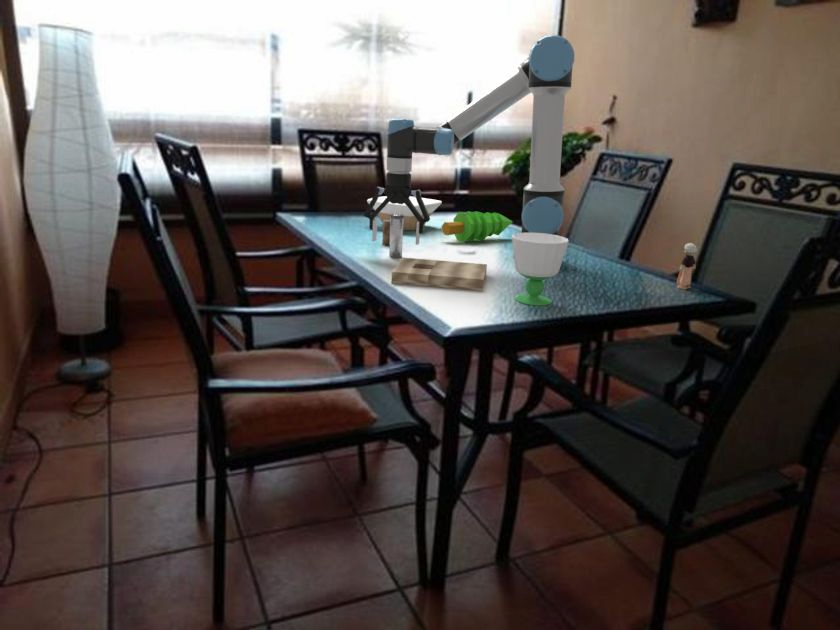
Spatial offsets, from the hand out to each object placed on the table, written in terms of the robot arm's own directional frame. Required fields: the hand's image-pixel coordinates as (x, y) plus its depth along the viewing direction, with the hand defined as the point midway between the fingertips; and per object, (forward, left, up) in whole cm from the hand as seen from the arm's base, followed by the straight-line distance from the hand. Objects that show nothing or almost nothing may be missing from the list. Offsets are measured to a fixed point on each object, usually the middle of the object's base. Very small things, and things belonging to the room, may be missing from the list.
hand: (395, 242), depth 197 cm
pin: (0, 0, -5) cm, 5 cm away
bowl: (+7, -54, -5) cm, 55 cm away
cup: (-42, +37, -5) cm, 56 cm away
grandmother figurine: (-84, +10, -5) cm, 85 cm away
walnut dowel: (+6, -18, -5) cm, 19 cm away
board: (-17, +23, -5) cm, 29 cm away
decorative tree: (-24, -38, -5) cm, 45 cm away
